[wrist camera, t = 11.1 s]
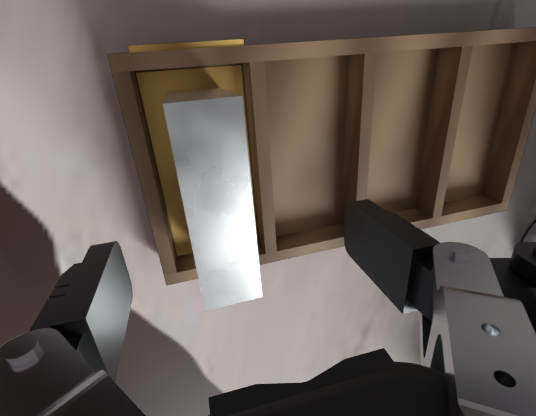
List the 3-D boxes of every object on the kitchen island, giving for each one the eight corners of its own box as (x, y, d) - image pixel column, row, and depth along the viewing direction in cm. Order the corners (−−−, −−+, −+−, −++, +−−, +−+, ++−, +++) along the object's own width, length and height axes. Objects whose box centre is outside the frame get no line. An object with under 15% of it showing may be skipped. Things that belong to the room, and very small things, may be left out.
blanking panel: (218, 86, 18) (242, 95, 12) (237, 234, 23) (262, 297, 16) (166, 91, 18) (162, 103, 12) (195, 243, 22) (205, 311, 16)
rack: (516, 26, 23) (560, 20, 21) (476, 197, 29) (507, 210, 26) (115, 50, 17) (105, 46, 15) (167, 260, 23) (166, 285, 20)
